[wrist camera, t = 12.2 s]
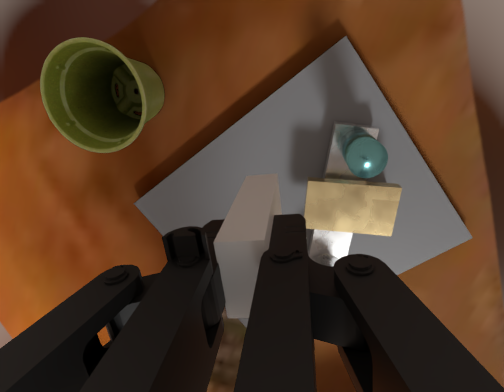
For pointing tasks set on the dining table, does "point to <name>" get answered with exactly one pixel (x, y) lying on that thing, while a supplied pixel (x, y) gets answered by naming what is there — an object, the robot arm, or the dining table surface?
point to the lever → (347, 168)
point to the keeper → (351, 206)
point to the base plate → (313, 163)
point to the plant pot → (98, 94)
